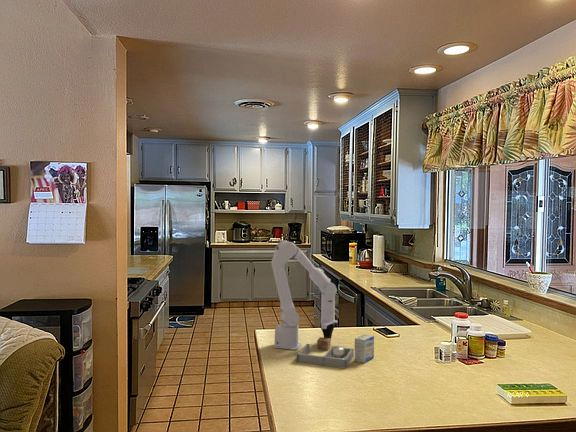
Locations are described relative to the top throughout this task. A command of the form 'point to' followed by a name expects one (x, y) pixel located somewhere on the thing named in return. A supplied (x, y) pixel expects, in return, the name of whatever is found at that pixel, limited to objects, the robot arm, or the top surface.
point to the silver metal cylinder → (338, 352)
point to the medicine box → (364, 348)
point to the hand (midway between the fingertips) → (327, 341)
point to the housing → (325, 357)
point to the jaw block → (323, 343)
